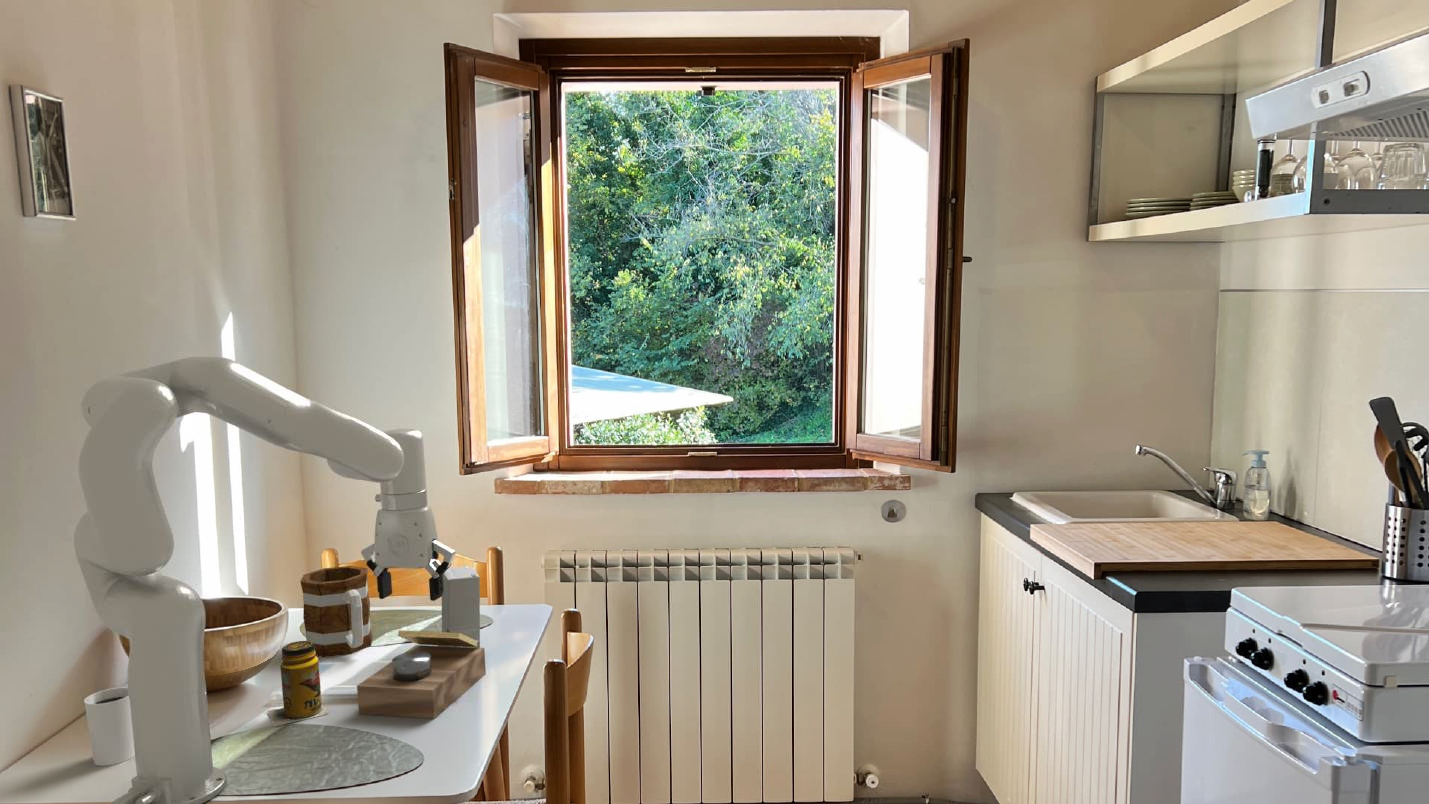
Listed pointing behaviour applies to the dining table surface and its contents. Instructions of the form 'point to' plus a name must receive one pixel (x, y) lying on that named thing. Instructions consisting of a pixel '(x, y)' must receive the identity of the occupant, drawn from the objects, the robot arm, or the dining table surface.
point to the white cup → (110, 726)
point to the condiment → (299, 684)
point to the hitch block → (423, 684)
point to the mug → (337, 610)
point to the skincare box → (461, 602)
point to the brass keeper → (439, 638)
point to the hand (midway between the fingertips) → (411, 597)
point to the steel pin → (411, 666)
